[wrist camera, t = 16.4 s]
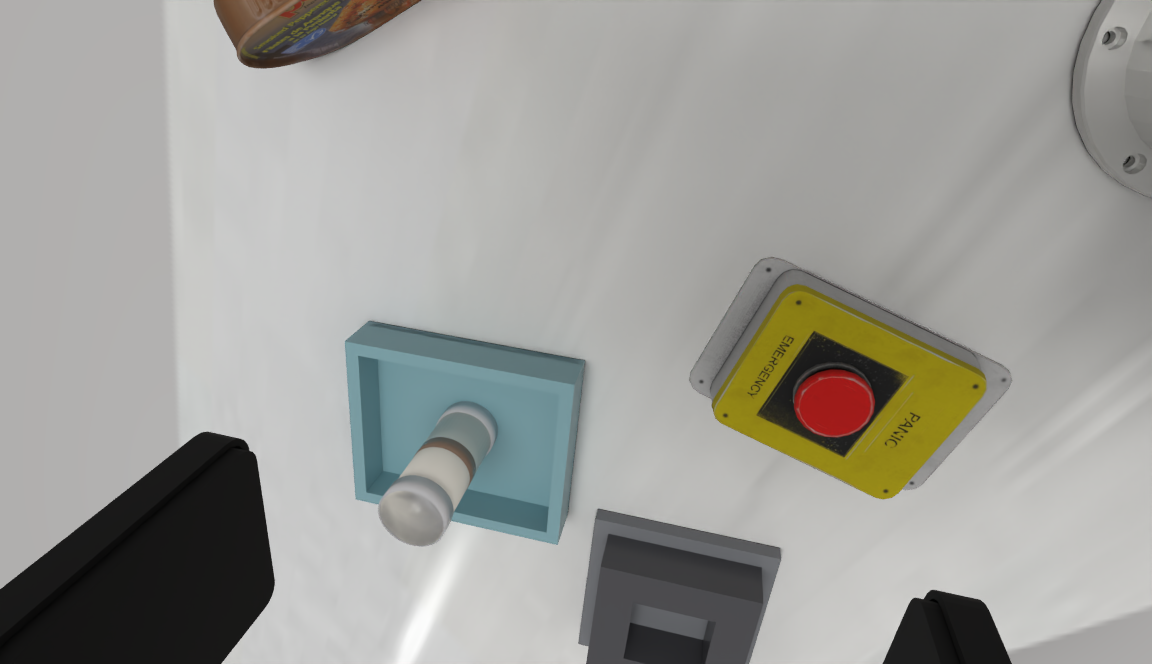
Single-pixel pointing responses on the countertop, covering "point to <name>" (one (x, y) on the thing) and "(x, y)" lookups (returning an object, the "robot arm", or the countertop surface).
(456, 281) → the countertop surface
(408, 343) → the parts tray
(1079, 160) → the countertop surface
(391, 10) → the tin
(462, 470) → the fuse
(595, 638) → the fuse panel
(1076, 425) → the countertop surface
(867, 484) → the emergency button
